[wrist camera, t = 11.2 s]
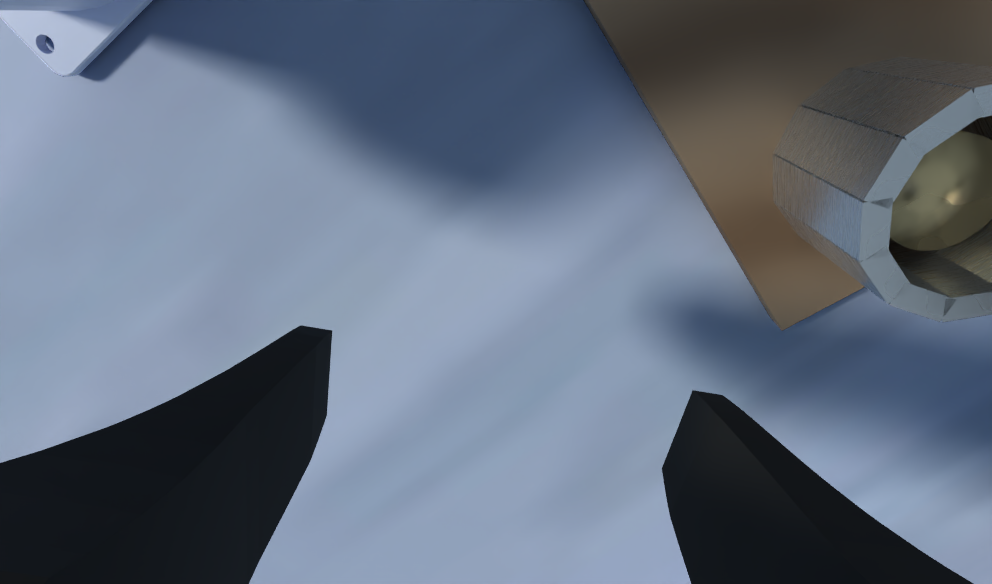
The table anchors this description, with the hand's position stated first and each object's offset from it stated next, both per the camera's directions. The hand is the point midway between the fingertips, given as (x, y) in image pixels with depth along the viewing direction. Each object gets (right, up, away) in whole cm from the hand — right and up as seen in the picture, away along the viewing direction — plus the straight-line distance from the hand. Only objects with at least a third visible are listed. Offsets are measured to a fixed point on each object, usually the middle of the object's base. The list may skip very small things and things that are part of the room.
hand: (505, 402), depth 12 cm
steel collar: (+11, +6, +6) cm, 14 cm away
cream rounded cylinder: (+11, +7, +7) cm, 15 cm away
